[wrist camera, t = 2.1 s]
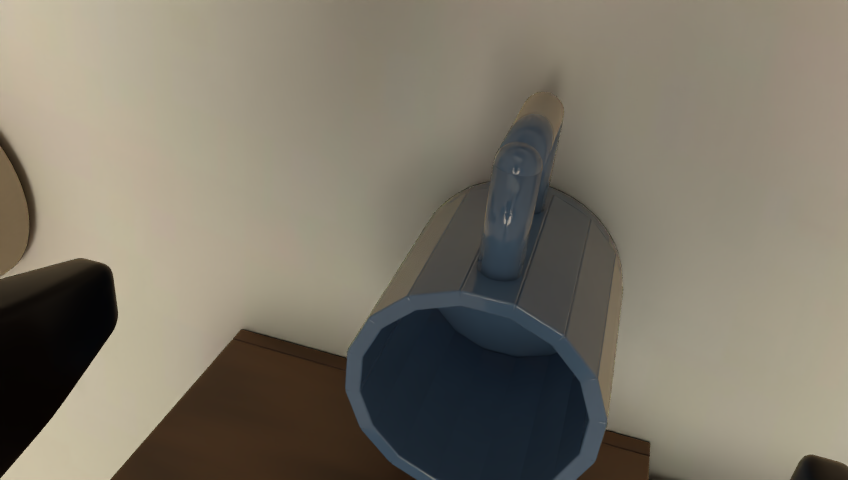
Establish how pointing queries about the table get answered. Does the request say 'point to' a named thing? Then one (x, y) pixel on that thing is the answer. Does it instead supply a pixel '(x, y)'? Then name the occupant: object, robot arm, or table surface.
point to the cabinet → (292, 425)
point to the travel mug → (11, 216)
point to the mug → (496, 328)
